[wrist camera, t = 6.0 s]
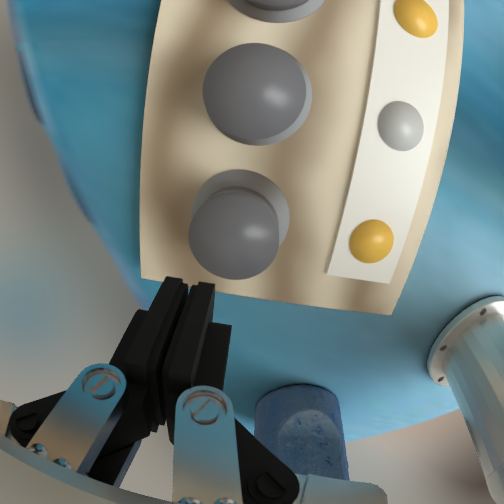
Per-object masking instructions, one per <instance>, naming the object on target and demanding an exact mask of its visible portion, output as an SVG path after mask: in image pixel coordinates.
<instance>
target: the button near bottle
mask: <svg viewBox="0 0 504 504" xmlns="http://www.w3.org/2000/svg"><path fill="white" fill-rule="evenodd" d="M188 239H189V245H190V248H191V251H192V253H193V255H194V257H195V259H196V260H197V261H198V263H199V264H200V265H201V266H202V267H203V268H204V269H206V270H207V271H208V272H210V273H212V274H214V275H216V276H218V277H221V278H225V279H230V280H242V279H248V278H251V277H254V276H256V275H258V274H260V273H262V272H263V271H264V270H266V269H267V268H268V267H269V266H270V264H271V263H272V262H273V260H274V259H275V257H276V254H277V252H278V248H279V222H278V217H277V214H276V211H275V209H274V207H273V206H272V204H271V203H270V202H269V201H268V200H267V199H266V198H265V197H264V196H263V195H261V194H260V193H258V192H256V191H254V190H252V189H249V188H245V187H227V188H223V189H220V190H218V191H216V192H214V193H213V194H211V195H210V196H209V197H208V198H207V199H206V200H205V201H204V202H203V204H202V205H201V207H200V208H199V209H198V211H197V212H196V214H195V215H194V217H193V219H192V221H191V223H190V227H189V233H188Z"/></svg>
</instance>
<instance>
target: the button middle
mask: <svg viewBox="0 0 504 504" xmlns="http://www.w3.org/2000/svg"><path fill="white" fill-rule="evenodd" d="M202 93H203V101H204V105H205V108H206V110H207V112H208V114H209V116H210V117H211V119H212V120H213V121H214V122H215V123H216V124H217V125H218V126H219V127H220V128H221V129H222V130H224V131H226V132H227V133H229V134H231V135H233V136H236V137H239V138H243V139H251V140H257V139H265V138H269V137H273V136H275V135H277V134H280V133H281V132H283V131H285V130H286V129H287V128H289V127H290V126H291V125H292V124H293V123H294V122H295V121H296V119H297V118H298V117H299V115H300V113H301V111H302V109H303V107H304V104H305V99H306V83H305V79H304V76H303V73H302V71H301V69H300V67H299V66H298V64H297V63H296V62H295V61H294V59H293V58H292V57H291V56H289V55H288V54H287V53H286V52H284V51H282V50H281V49H279V48H277V47H274V46H271V45H268V44H263V43H246V44H241V45H238V46H235V47H232V48H230V49H228V50H226V51H225V52H223V53H222V54H221V55H219V56H218V57H217V58H216V59H215V60H214V61H213V63H212V64H211V66H210V67H209V69H208V71H207V73H206V75H205V78H204V82H203V90H202Z"/></svg>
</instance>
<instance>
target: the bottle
mask: <svg viewBox="0 0 504 504" xmlns="http://www.w3.org/2000/svg"><path fill="white" fill-rule="evenodd" d="M254 437H255V438H256V439H257V440H258V441H259V442H260V443H262V444H263V445H264V446H265V447H266V448H267V449H268V450H269V451H270V452H271V453H273V454H274V455H275V456H276V457H277V458H278V459H279V460H280V461H282V462H283V463H284V464H285V465H286V466H287V467H289V468H290V469H291V470H292V471H293V472H294V473H295V474H300V475H305V476H308V475H309V474H312V475H317V476H322V477H328V478H334V479H341V480H348V481H350V480H349V474H348V462H347V457H346V449H345V441H344V434H343V426H342V420H341V413H340V407H339V402H338V399H337V397H336V396H335V395H334V394H332V393H331V392H329V391H328V390H326V389H323V388H320V387H317V386H311V385H304V384H303V385H293V386H286V387H282V388H279V389H276V390H274V391H272V392H270V393H268V394H267V395H265V396H263V398H262V399H261V400H260V401H259V402H258V404H257V406H256V411H255V430H254Z"/></svg>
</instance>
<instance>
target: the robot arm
mask: <svg viewBox="0 0 504 504" xmlns="http://www.w3.org/2000/svg"><path fill="white" fill-rule="evenodd" d="M214 296H215V284H214V283H207V282H201V281H199V283H198V285H192V286H191V289H190V292H189V294H188V284H186V283H183V279H182V278H176V277H170V276H166V277H165V279H164V281H163V283H162V285H161V287H160V289H159V290H158V292H157V294H156V296H155V298H154V300H153V302H152V304H151V306H150V308H149V310H148V311H145V310H140V309H139V310H137V312H136V313H135V315H134V317H133V318H132V320H131V322H130V324H129V326H128V328H127V330H126V332H125V333H124V335H123V338H122V339H121V341H120V343H119V345H118V347H117V349H116V351H115V353H114V355H113V357H112V359H111V361H110V363H109V364H95V365H91V366H89V367H87V368H85V369H84V370H83V371H82V372H81V373H80V374H79V375H78V377H77V378H76V379H75V381H74V382H73V383H72V384H71V386H70V387H69V388H68V389H67V390H66V391H63V392H60V393H57V394H54V395H51V396H48V397H45V398H42V399H39V400H36V401H33V402H30V403H27V404H24V405H21V406H19V407H16V406H15V404H14V403H10V402H6V401H2V400H0V504H388V501H387V495H386V493H385V492H384V490H383V489H382V488H380V487H379V486H378V485H375V484H371V483H364V482H355V481H348V480H341V479H334V478H328V477H322V476H317V475H312V474H309V475H308V476H305V475H300V474H295V473H294V472H293V471H292V470H291V469H290V468H289V467H287V466H286V465H285V464H284V463H283V462H282V461H280V460H279V459H278V458H277V457H276V456H275V455H274V454H273V453H271V452H270V451H269V450H268V449H267V448H266V447H265V446H264V445H263V444H262V443H260V442H259V441H258V440H257V439H256V438H255V437H254V436H253V435H252V434H251V433H250V432H249V431H248V430H247V429H246V428H245V427H244V426H243V425H242V424H241V423H239V422H238V421H237V420H236V419H235V418H234V408H233V405H232V401H231V400H230V398H229V397H228V396H227V395H226V394H225V393H224V392H223V385H224V378H225V371H226V364H227V357H228V350H229V343H230V335H231V328H232V325H226V324H219V323H213V322H212V319H213V308H214ZM427 368H428V371H429V374H430V376H431V378H432V380H433V381H434V382H435V383H436V384H439V385H441V386H450V387H451V389H452V391H453V394H454V396H455V398H456V401H457V403H458V405H459V408H460V410H461V412H462V415H463V417H464V420H465V422H466V425H467V427H468V430H469V433H470V435H471V438H472V441H473V443H474V446H475V449H476V452H477V455H478V457H479V460H480V464H481V466H482V469H483V473H484V476H485V479H486V482H487V485H488V489H489V492H490V494H491V496H492V498H493V499H494V501H495V502H496V503H497V504H504V297H503V296H493V297H488V298H485V299H482V300H480V301H478V302H476V303H474V304H472V305H471V306H469V307H468V308H466V309H465V310H463V311H462V312H461V313H460V314H458V315H457V316H456V317H455V318H454V319H453V320H452V321H451V322H450V323H449V324H448V325H447V326H446V327H445V328H444V330H443V331H442V332H441V333H440V335H439V336H438V338H437V339H436V341H435V342H434V344H433V346H432V348H431V350H430V353H429V356H428V360H427ZM166 420H167V427H168V433H169V440H170V442H171V443H172V444H173V445H174V455H173V494H172V495H173V496H172V499H173V500H172V502H169V501H165V500H161V499H157V498H153V497H148V496H145V495H141V494H137V493H134V492H130V491H127V490H124V489H120V488H119V487H120V485H121V483H122V481H123V479H124V476H125V475H126V472H127V471H128V469H129V467H130V465H131V463H132V461H133V459H134V457H135V454H136V452H137V451H138V449H139V447H140V444H141V440H142V439H143V438H145V437H148V436H149V435H150V432H151V431H152V432H157V430H158V426H159V425H164V424H165V422H166Z"/></svg>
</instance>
